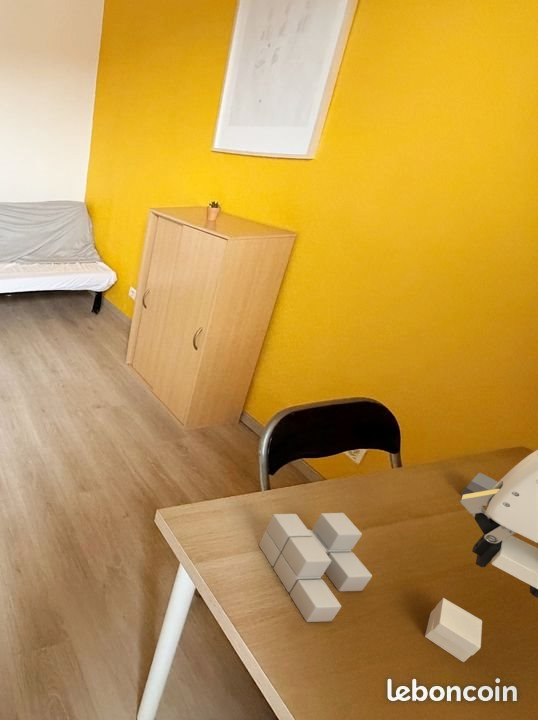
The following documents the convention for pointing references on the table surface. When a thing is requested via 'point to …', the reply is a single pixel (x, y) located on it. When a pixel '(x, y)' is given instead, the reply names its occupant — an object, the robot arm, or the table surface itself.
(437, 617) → the ivory rectangular block
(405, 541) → the table surface
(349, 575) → the light grey block structure
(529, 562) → the cream white block
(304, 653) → the table surface
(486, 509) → the robot arm
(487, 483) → the grey blocks
